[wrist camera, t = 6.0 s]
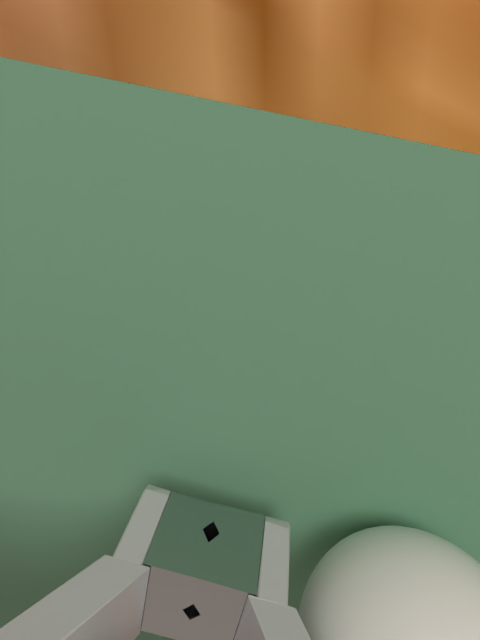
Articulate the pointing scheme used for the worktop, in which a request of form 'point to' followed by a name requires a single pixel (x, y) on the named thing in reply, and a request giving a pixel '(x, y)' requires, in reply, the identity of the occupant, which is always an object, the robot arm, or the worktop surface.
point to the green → (227, 324)
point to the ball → (393, 589)
